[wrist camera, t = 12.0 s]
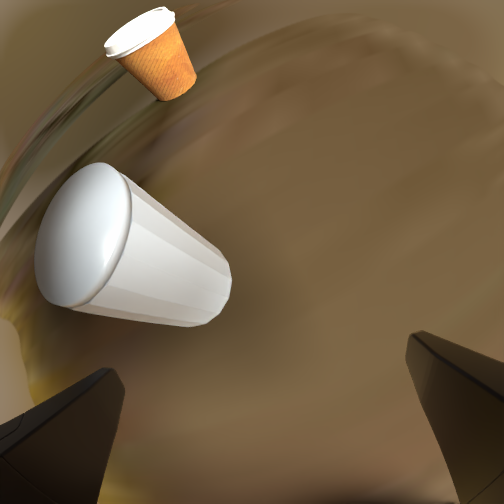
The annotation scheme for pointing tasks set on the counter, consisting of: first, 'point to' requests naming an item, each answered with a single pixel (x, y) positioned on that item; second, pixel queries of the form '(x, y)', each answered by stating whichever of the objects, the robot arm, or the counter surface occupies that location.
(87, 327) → the counter surface
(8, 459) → the robot arm
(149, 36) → the disposable coffee cup
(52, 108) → the counter surface
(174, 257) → the white tapered cylinder
